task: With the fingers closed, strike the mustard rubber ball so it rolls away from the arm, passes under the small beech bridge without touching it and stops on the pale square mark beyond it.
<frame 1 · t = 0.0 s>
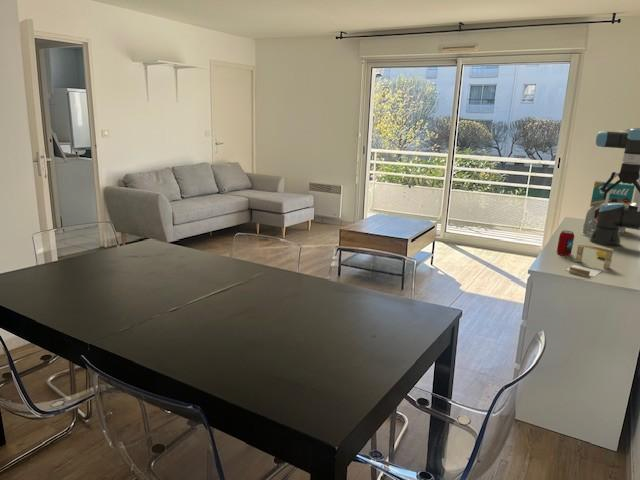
hand: (621, 208, 228), 28 cm above the dresser top, tool pointing down, fingers open, 13 cm apart
ball: (602, 252, 246), on the dresser top
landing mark: (583, 270, 224), on the dresser top
cake mix box: (605, 229, 315), on the dresser top
beverage can: (563, 254, 251), on the dresser top
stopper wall: (578, 274, 219), on the dresser top
bridge: (591, 264, 235), on the dresser top
ornament: (597, 235, 299), on the dresser top
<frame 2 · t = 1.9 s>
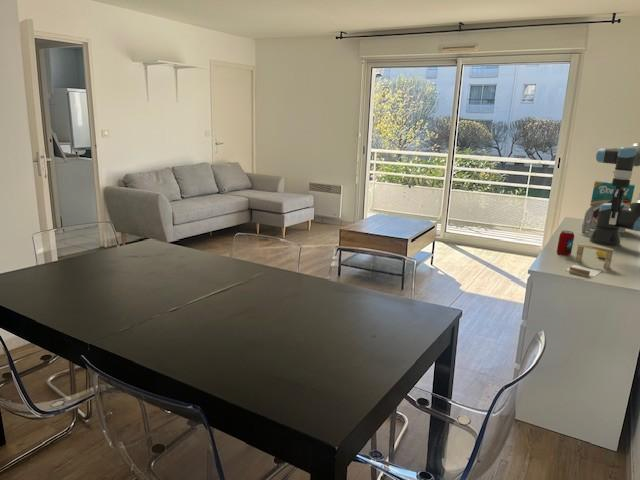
hand: (612, 224, 250), 16 cm above the dresser top, tool pointing down, fingers closed
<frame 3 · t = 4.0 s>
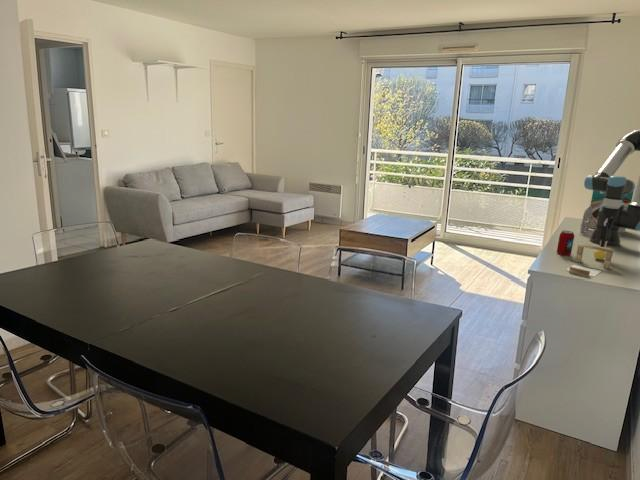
hand: (601, 252, 246), 3 cm above the dresser top, tool pointing down, fingers closed
ball: (599, 254, 243), on the dresser top
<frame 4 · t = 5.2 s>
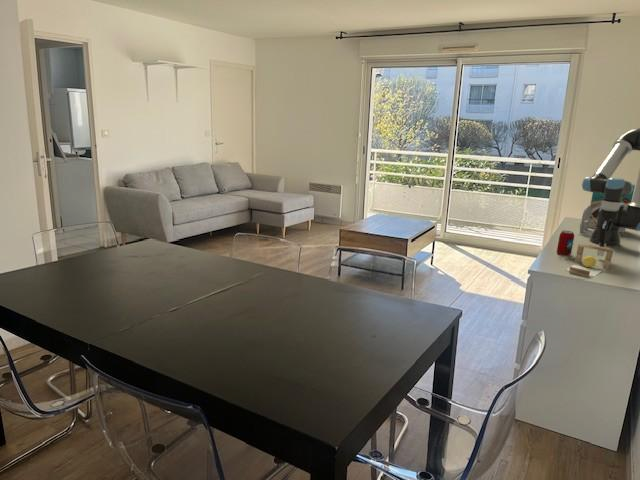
hand: (600, 255, 245), 2 cm above the dresser top, tool pointing down, fingers closed
ball: (589, 261, 230), on the dresser top
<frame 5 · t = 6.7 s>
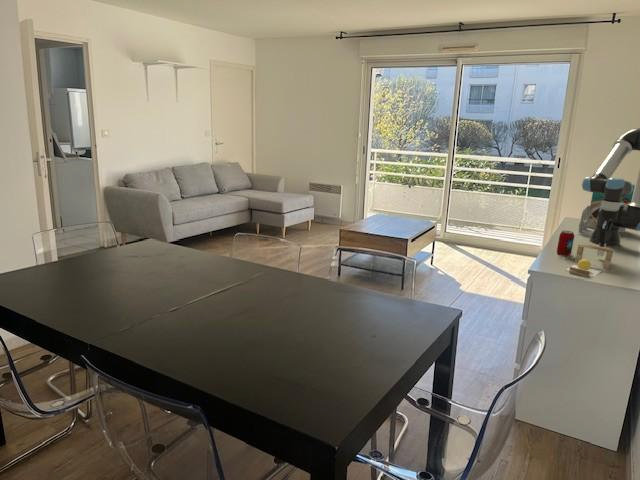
hand: (600, 255, 245), 2 cm above the dresser top, tool pointing down, fingers closed
ball: (584, 265, 224), on the dresser top
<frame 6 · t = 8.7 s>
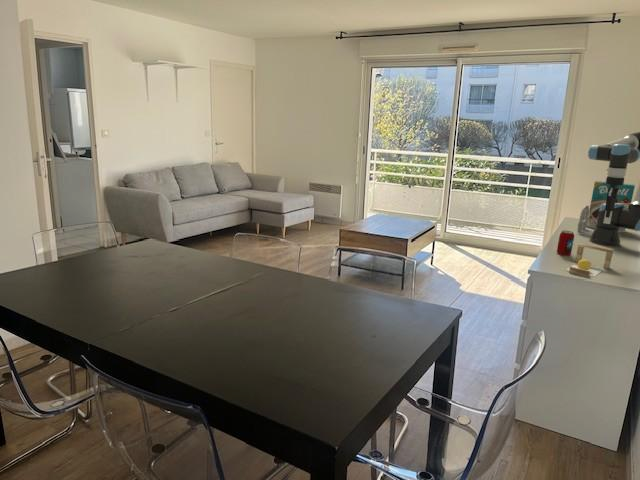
hand: (606, 223, 243), 18 cm above the dresser top, tool pointing down, fingers closed
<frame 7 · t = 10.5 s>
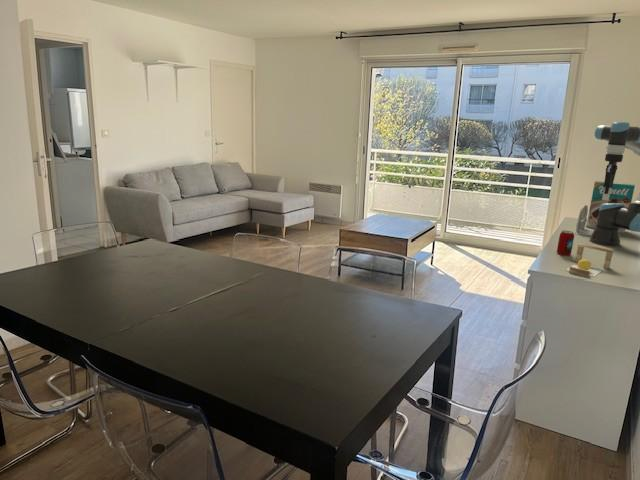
hand: (605, 199, 249), 28 cm above the dresser top, tool pointing down, fingers closed
at the end: ball 0.3 cm from the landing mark (horizontally); ball never touched bridge; ball at rest at the end (0.0 cm/s) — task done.
